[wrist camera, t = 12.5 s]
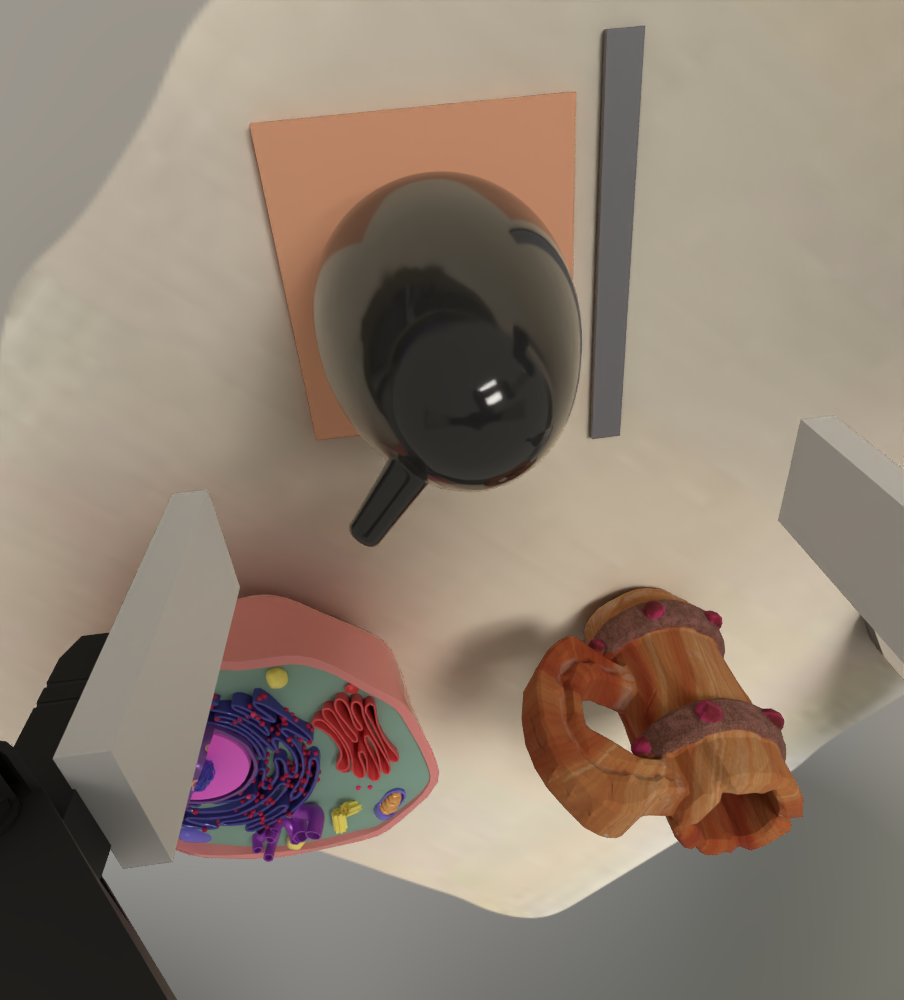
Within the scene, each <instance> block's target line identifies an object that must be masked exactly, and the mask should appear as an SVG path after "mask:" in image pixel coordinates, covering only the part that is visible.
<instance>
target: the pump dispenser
mask: <svg viewBox="0 0 904 1000" xmlns="http://www.w3.org/2000/svg"><path fill="white" fill-rule="evenodd" d="M312 319H313V329H314V335H315V340H316V344H317V349H318V353H319V357H320V360H321V364H322V367H323V370H324V373H325V376H326V378H327V381H328V383H329V386H330V388H331V390H332V392H333V395H334V396H335V398H336V400H337V402H338V404H339V406H340V407H341V409H342V411H343V412H344V414H345V416H346V417H347V419H348V420H349V421H350V423H351V424H352V426H353V427H354V428H355V430H356V431H357V432H358V433H359V435H360V436H361V437H362V438H363V439H364V440H365V441H366V442H367V443H368V444H369V445H370V446H371V447H372V448H373V449H374V450H375V451H376V452H377V453H378V454H379V455H381V456H382V457H383V458H384V459H385V460H387V463H386V465H385V466H384V468H383V470H382V471H381V473H380V475H379V476H378V478H377V480H376V482H375V483H374V485H373V487H372V488H371V490H370V492H369V493H368V495H367V497H366V498H365V500H364V502H363V503H362V505H361V507H360V508H359V510H358V512H357V513H356V515H355V517H354V518H353V520H352V522H351V523H350V526H349V530H350V533H351V535H352V536H353V537H354V538H355V539H356V540H357V541H358V542H360V543H361V544H363V545H365V546H368V547H374V546H377V545H378V544H379V543H380V542H381V541H382V539H383V538H384V537H385V536H386V534H387V533H388V532H389V531H390V530H391V528H392V527H393V526H394V525H395V524H396V522H397V521H398V520H399V519H400V518H401V516H402V515H403V514H404V513H405V511H406V510H407V509H408V508H409V507H410V505H411V504H412V503H413V502H414V501H415V499H416V498H417V497H418V496H419V495H420V493H421V492H422V491H423V490H424V489H425V487H426V486H427V485H429V484H430V485H432V486H435V487H437V488H440V489H444V490H451V491H459V492H480V491H487V490H491V489H495V488H498V487H501V486H504V485H506V484H509V483H511V482H513V481H515V480H517V479H518V478H520V477H522V476H523V475H525V474H526V473H527V472H529V471H530V470H531V469H532V468H534V467H535V466H536V465H537V464H538V463H539V462H540V461H541V460H542V459H543V458H544V457H545V456H546V455H547V454H548V452H549V451H550V450H551V449H552V447H553V446H554V444H555V443H556V441H557V440H558V438H559V437H560V435H561V433H562V431H563V429H564V427H565V425H566V423H567V421H568V418H569V416H570V413H571V410H572V407H573V404H574V400H575V396H576V392H577V388H578V382H579V375H580V367H581V354H582V328H581V317H580V309H579V304H578V299H577V294H576V291H575V287H574V283H573V280H572V277H571V274H570V272H569V269H568V266H567V264H566V262H565V259H564V257H563V255H562V253H561V250H560V248H559V246H558V245H557V243H556V241H555V239H554V237H553V236H552V234H551V233H550V231H549V230H548V228H547V227H546V226H545V224H544V223H543V222H542V221H541V219H540V218H539V217H538V216H537V215H536V214H535V213H534V212H533V211H532V210H531V209H530V208H529V207H528V206H527V205H526V204H525V203H524V202H523V201H521V200H520V199H519V198H518V197H516V196H515V195H514V194H512V193H511V192H509V191H508V190H506V189H504V188H503V187H501V186H499V185H497V184H495V183H493V182H490V181H488V180H486V179H483V178H480V177H477V176H473V175H469V174H464V173H458V172H448V171H435V172H424V173H418V174H413V175H409V176H405V177H402V178H399V179H397V180H394V181H392V182H389V183H387V184H385V185H383V186H381V187H379V188H378V189H376V190H374V191H373V192H371V193H370V194H368V195H367V196H365V197H364V198H363V199H362V200H360V201H359V202H358V203H357V204H356V205H355V206H353V207H352V208H351V209H350V210H349V212H348V213H347V214H346V215H345V216H344V217H343V218H342V220H341V221H340V222H339V224H338V225H337V226H336V228H335V229H334V231H333V232H332V234H331V236H330V237H329V239H328V241H327V243H326V245H325V247H324V249H323V252H322V254H321V257H320V260H319V263H318V267H317V270H316V275H315V280H314V286H313V294H312Z"/></svg>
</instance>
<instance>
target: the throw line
mask: <svg viewBox="0 0 904 1000" xmlns="http://www.w3.org/2000/svg"><path fill="white" fill-rule="evenodd" d="M644 35H645V26H636V27H626V28H615V29H605V30H604V51H603V79H602V108H601V137H600V165H599V194H598V222H597V251H596V280H595V308H594V337H593V365H592V394H591V423H590V436H591V438H592V439H596V438H604V437H612V436H620V424H621V408H622V392H623V375H624V359H625V343H626V327H627V311H628V294H629V278H630V262H631V246H632V230H633V213H634V197H635V181H636V165H637V148H638V132H639V116H640V100H641V84H642V67H643V51H644Z"/></svg>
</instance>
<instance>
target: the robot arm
mask: <svg viewBox="0 0 904 1000" xmlns="http://www.w3.org/2000/svg"><path fill="white" fill-rule="evenodd" d="M778 521H779V522H780V523H781V524H782V525H783V526H784V528H785V529H786V530H787V531H788V532H789V533H790V534H791V536H792V537H793V538H794V539H795V540H796V541H797V542H798V544H799V545H800V546H801V547H802V548H803V549H804V550H805V552H806V553H807V554H808V555H809V556H810V557H811V558H812V560H813V561H814V562H815V563H816V564H817V565H818V566H819V568H820V569H821V570H822V571H823V572H824V573H825V574H826V576H827V577H828V578H829V579H830V580H831V581H832V582H833V584H834V585H835V586H836V587H837V588H838V589H839V590H840V592H841V593H842V594H843V595H844V596H845V597H846V598H847V600H848V601H849V602H850V603H851V604H852V605H853V606H854V608H855V609H856V610H857V611H858V612H859V613H860V614H861V616H862V617H863V618H864V619H865V620H866V621H867V622H868V624H869V625H870V626H871V627H872V628H873V629H874V630H875V632H876V633H877V634H878V635H879V636H880V637H881V638H882V640H883V641H884V642H885V643H886V644H887V645H888V646H889V648H890V649H891V650H892V651H893V652H894V653H895V654H896V656H897V657H898V658H899V659H900V660H901V661H902V662H903V664H904V469H902V468H901V467H900V466H898V465H897V464H896V463H895V462H893V461H892V460H891V459H889V458H888V457H887V456H886V455H884V454H883V453H882V452H880V451H879V450H878V449H877V448H875V447H874V446H873V445H871V444H870V443H869V442H868V441H866V440H865V439H864V438H862V437H861V436H860V435H859V434H857V433H856V432H855V431H853V430H852V429H851V428H850V427H848V426H847V425H846V424H844V423H843V422H842V421H841V420H839V419H838V418H837V417H835V416H826V417H817V418H809V419H801V421H800V425H799V430H798V434H797V439H796V443H795V448H794V452H793V457H792V461H791V465H790V470H789V474H788V479H787V483H786V488H785V492H784V497H783V501H782V506H781V510H780V514H779V519H778ZM239 589H240V586H239V583H238V580H237V576H236V573H235V570H234V567H233V564H232V561H231V558H230V555H229V552H228V549H227V546H226V543H225V540H224V537H223V534H222V530H221V527H220V524H219V521H218V518H217V515H216V512H215V509H214V506H213V503H212V500H211V497H210V494H209V491H208V490H200V491H192V492H184V493H175V494H172V496H171V498H170V500H169V502H168V504H167V507H166V509H165V511H164V513H163V516H162V518H161V520H160V522H159V524H158V527H157V529H156V531H155V533H154V535H153V538H152V540H151V542H150V544H149V547H148V549H147V551H146V553H145V555H144V558H143V560H142V562H141V564H140V566H139V569H138V571H137V573H136V575H135V578H134V580H133V582H132V584H131V586H130V589H129V591H128V593H127V595H126V597H125V600H124V602H123V604H122V606H121V609H120V611H119V613H118V615H117V617H116V620H115V622H114V624H113V626H112V628H111V631H110V633H103V634H95V635H87V636H81V637H80V638H79V639H78V640H77V641H76V642H75V643H74V644H73V645H72V646H71V647H70V648H69V649H68V650H67V651H66V652H65V653H64V654H63V655H62V656H61V657H60V658H59V660H58V662H57V664H56V666H55V668H54V670H53V672H52V674H51V676H50V678H49V680H48V681H47V688H44V689H43V691H42V693H41V695H40V697H39V699H38V701H37V707H36V708H34V709H33V711H32V713H31V714H30V716H29V718H28V720H27V722H26V724H25V726H24V728H23V730H22V732H21V734H20V736H19V738H18V740H17V742H16V744H15V745H14V747H12V746H11V745H10V744H9V743H7V742H6V741H0V1000H177V999H176V997H175V995H174V994H173V992H172V991H171V989H170V987H169V986H168V984H167V982H166V981H165V979H164V977H163V976H162V974H161V972H160V971H159V969H158V967H157V966H156V964H155V962H154V961H153V959H152V957H151V956H150V954H149V952H148V951H147V949H146V947H145V946H144V944H143V942H142V941H141V939H140V937H139V936H138V934H137V932H136V931H135V929H134V927H133V926H132V924H131V923H130V921H129V919H128V918H127V916H126V914H125V913H124V911H123V909H122V908H121V906H120V904H119V903H118V901H117V900H116V898H115V896H114V894H113V893H112V891H111V889H110V888H109V886H108V884H107V883H106V881H105V880H104V879H103V877H102V873H103V870H104V867H105V864H106V861H107V858H108V855H109V852H110V849H111V851H112V852H113V854H114V855H115V857H116V858H117V860H118V862H119V863H120V865H121V866H122V868H123V869H126V868H133V867H139V866H147V865H155V864H162V863H169V862H173V858H174V853H175V850H176V846H177V842H178V838H179V834H180V830H181V825H182V821H183V817H184V813H185V809H186V805H187V801H188V797H189V793H190V789H191V785H192V781H193V777H194V772H195V768H196V764H197V760H198V756H199V752H200V748H201V744H202V740H203V736H204V732H205V728H206V724H207V720H208V715H209V711H210V707H211V703H212V699H213V695H214V691H215V687H216V683H217V679H218V675H219V671H220V667H221V662H222V658H223V654H224V650H225V646H226V642H227V638H228V634H229V630H230V626H231V622H232V618H233V614H234V609H235V605H236V601H237V597H238V593H239Z"/></svg>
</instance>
